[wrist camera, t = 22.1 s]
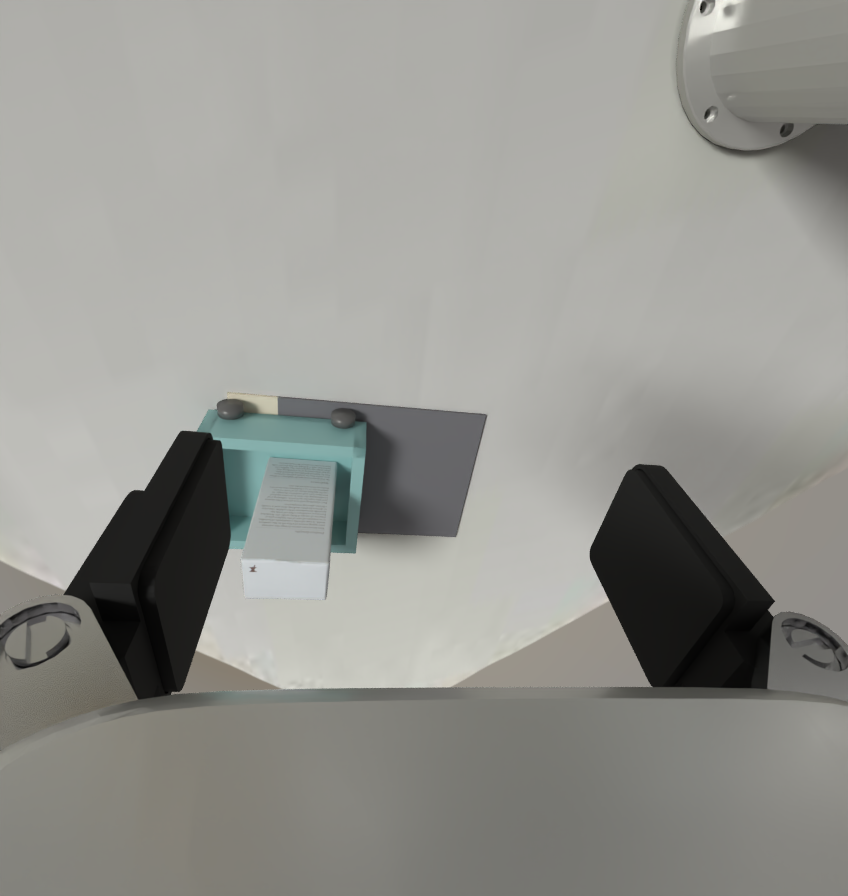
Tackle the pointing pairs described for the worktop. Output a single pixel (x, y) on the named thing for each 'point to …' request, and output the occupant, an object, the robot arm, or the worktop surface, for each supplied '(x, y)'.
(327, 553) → the skincare box
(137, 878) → the robot arm
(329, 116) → the worktop surface
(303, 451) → the teal open tray
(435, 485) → the mat
